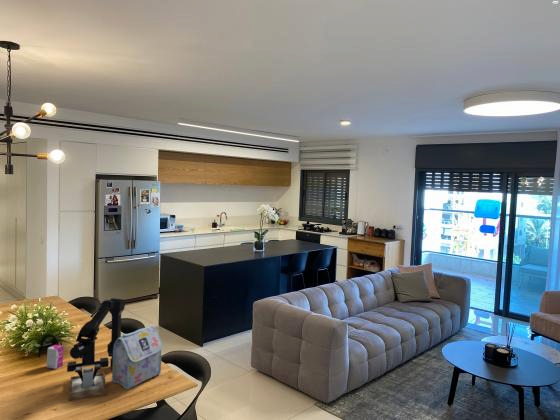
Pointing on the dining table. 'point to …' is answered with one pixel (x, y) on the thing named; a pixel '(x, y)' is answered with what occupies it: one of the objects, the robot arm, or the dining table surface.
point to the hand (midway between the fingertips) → (87, 380)
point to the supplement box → (54, 357)
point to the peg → (88, 377)
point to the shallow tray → (88, 392)
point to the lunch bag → (136, 357)
